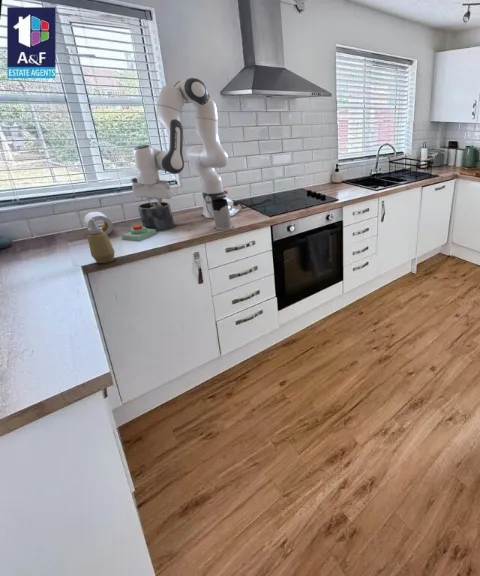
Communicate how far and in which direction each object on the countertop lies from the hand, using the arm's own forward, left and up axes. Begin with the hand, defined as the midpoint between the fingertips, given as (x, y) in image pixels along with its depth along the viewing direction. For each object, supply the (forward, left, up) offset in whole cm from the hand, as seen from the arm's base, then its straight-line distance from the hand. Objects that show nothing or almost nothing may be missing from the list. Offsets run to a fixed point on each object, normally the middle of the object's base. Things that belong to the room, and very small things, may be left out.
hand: (156, 206), depth 194 cm
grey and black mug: (-8, +30, -11) cm, 33 cm away
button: (+17, +1, -8) cm, 18 cm away
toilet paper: (+17, -20, -11) cm, 29 cm away
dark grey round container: (+1, 0, -11) cm, 11 cm away
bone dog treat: (+2, 0, -2) cm, 3 cm away
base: (+16, +1, -11) cm, 20 cm away
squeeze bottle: (+47, +11, -11) cm, 50 cm away
